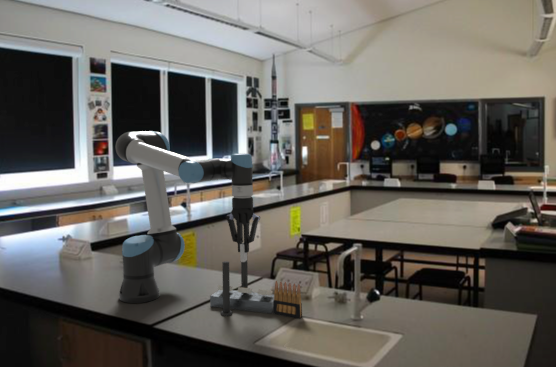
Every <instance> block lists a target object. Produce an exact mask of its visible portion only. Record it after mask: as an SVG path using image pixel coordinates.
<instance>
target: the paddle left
mask: <svg viewBox="0 0 556 367" xmlns="http://www.w3.org/2000/svg"><path fill="white" fill-rule="evenodd" d="M218 290H222V291H223V284H218V285H217V291H218ZM232 290H233V286H232V285H230V291H232Z"/></svg>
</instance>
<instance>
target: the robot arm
mask: <svg viewBox="0 0 556 367" xmlns="http://www.w3.org/2000/svg"><path fill="white" fill-rule="evenodd" d="M170 146H171V145H170V142H169V140H168V138H167V137H166V136H165V135H164V134H163V133H162V132H159V131H153V130H149V131H146V130H145V131H143V130H142V131H127V132H124V133H123V134H121V135H120V136H119V137H118V138H117V140H116V142H115V152H116V154H117V156H118V157H119V158H120V159H121V160H123V161H124V162H128V163H130V164H134V165H135V164H136V167H138V168H139V169H140V170H141V176H142V181H143V188H144V193H145V194H144V196H145V201H146V207H147V208H146V209H147V214H148V220H149V227H150V228H149V230H148V231H147V234H141V235H135V236H131V237H129V238H127V239H125V240H124V241H123V242H122V247H121V249H122V251H121V256H122V274H123V276H122V282H121V286H120V289H119V292H118V298H119V301H121V302H124V303H127V304H128V303H129V304H141V303H149V302H151V301H154V300H157V299H158V298H159V296H160V289H159V286H158V284H157V281H156V278H155V267H158V266H162V265H165V264H171V263H173V262H175V261H176V262H177V261H178V260H179V259H180V258H182V256H183V254H184V252H185V245H186V244H185V241H184V238H183V236H182V235H181V234H180V233H179V232H177V227H175V225H173V224H172V217H171V212H170V211H171V210H170V205H169V198H168V192H167V187H166V186H167V185H166V178H165V173H167V174H171V175H173V176H177V177H179V178H180V180H182V182H184V183H185V184H196V183H201V182H208V181H209V182H210V181H215V180H216V181H218V180H231V195H232V198H231V207H232V208H231V209H232V210H231V212H230V213H229V214H227V215H226V216H225V219H226V221H227V223H228V227H229V231H230V234H231V239H232V242H233V243H237V251H238V253H239V257H240V263H241V262H245V261H247V262H248V253H249V252H250V244H251V243H253V242H254V241H255V238H256V237H255V236H256V232H257V229H258V222H260V220H261V216H260V215H257V214H255V211H254V198H253V197H252V196H254V185H253V172H254V171H253V170H254V168H253V167H254V165H253V157H252V154H251V153H232V154H231V156H230V158H217V157H216V158H215V157H214V158H209V159H201V160H199V159H195V158H191V157H188V156H186V155H182V154H179V153H176V152H173V151H171V150H170V149H171V148H170ZM251 220H252V223H251V227H250V222H251ZM235 222H236V223H235Z"/></svg>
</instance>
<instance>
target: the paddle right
mask: <svg viewBox="0 0 556 367" xmlns="http://www.w3.org/2000/svg"><path fill="white" fill-rule="evenodd" d="M257 293H258V294H260V295H271V296H272V294H273V290H270V289H262V288H258V292H257Z"/></svg>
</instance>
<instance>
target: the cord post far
mask: <svg viewBox="0 0 556 367" xmlns="http://www.w3.org/2000/svg"><path fill="white" fill-rule="evenodd" d="M248 269H249V268H248V260H247V261H245V262H240V273H241V274H240V275H241V276H240V277H241V278H240V279H241V280H240V281H241V283H240V284H241V286H240V287H243V288H249V286H248V285H249V284H248V283H249V282H248V279H249V277H248V272H249V271H248Z"/></svg>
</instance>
